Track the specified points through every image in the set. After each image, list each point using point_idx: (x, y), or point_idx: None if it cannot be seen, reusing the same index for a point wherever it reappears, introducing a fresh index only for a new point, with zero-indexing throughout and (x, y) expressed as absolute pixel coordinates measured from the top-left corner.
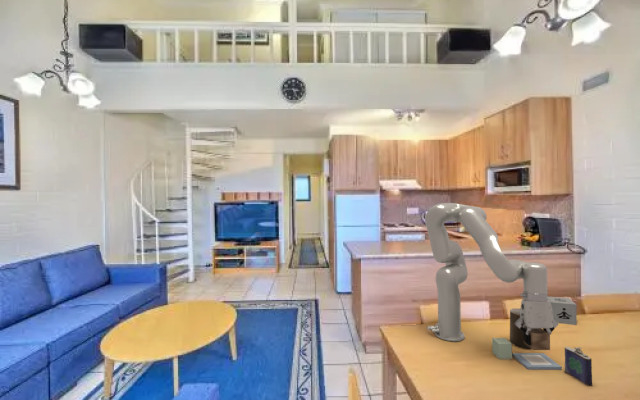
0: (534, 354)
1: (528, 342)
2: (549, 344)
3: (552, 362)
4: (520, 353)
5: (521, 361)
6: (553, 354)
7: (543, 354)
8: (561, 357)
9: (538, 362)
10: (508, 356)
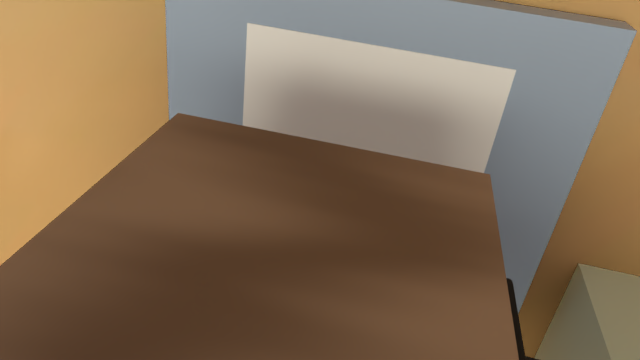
0: None
1: None
2: (132, 163)
3: (207, 71)
4: None
5: (577, 168)
6: None
7: None
8: (37, 173)
9: (381, 100)
10: (628, 292)
